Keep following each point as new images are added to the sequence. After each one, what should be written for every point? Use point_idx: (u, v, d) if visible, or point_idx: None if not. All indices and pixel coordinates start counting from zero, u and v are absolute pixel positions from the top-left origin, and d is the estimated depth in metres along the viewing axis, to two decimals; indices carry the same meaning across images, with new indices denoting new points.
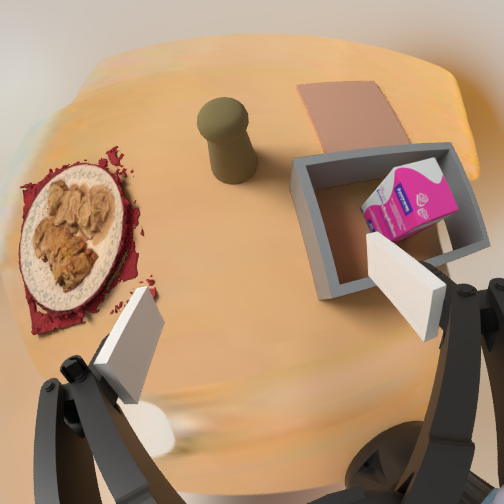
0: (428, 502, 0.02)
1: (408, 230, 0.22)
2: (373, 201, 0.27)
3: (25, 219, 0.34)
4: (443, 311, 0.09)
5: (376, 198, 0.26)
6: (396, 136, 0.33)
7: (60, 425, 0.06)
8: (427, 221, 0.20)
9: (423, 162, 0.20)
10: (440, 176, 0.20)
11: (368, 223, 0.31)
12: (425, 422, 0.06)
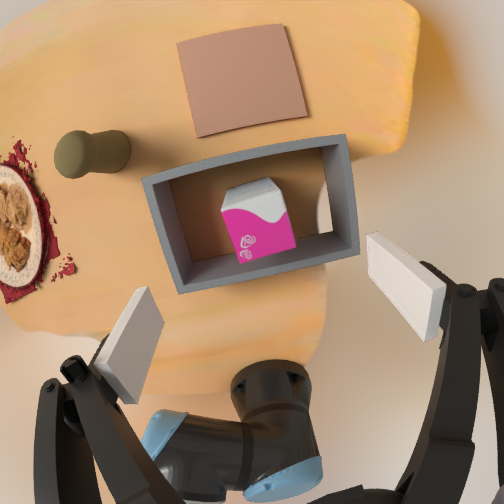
0: (428, 502, 0.02)
1: None
2: None
3: None
4: (443, 311, 0.09)
5: None
6: (289, 102, 0.30)
7: (60, 425, 0.06)
8: (251, 260, 0.26)
9: (260, 199, 0.23)
10: (280, 214, 0.24)
11: None
12: (425, 422, 0.06)
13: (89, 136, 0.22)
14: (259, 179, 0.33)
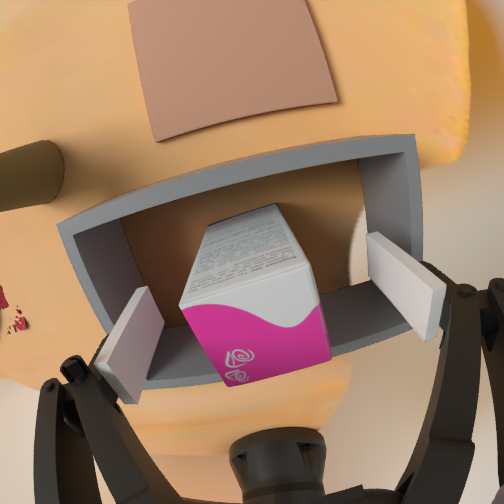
0: (428, 502, 0.02)
1: None
2: None
3: None
4: (443, 311, 0.09)
5: None
6: (307, 79, 0.17)
7: (60, 425, 0.06)
8: None
9: (264, 285, 0.10)
10: (306, 311, 0.11)
11: None
12: (425, 422, 0.06)
13: None
14: (260, 208, 0.20)
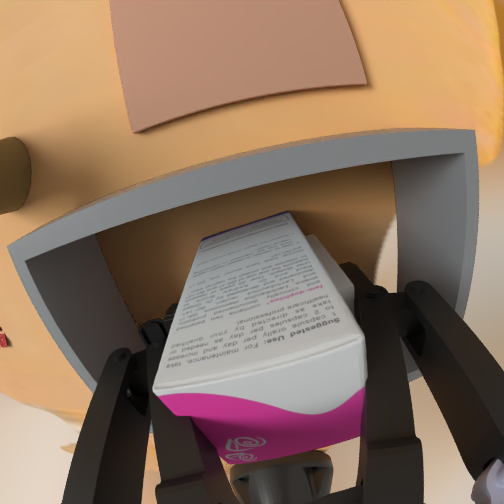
0: None
1: None
2: None
3: None
4: (355, 311, 0.11)
5: None
6: (329, 54, 0.12)
7: (121, 401, 0.07)
8: None
9: (288, 372, 0.06)
10: (347, 396, 0.06)
11: None
12: (361, 426, 0.06)
13: None
14: (269, 218, 0.15)
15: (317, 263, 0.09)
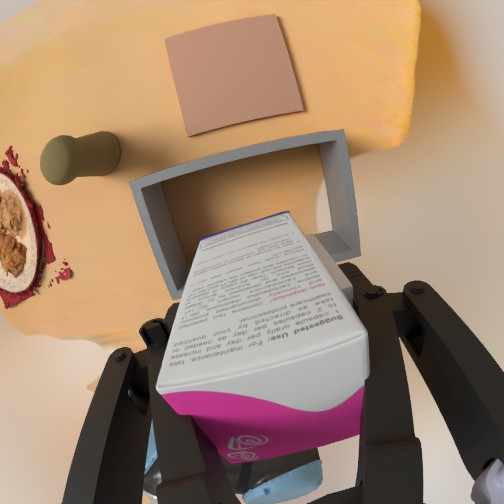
0: None
1: None
2: None
3: None
4: None
5: None
6: (283, 96, 0.28)
7: (122, 401, 0.08)
8: None
9: (292, 368, 0.06)
10: (349, 392, 0.06)
11: None
12: (361, 427, 0.06)
13: (74, 141, 0.20)
14: (268, 218, 0.15)
15: (318, 262, 0.09)
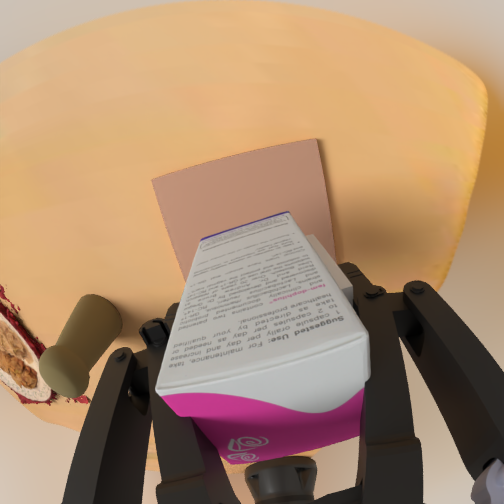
0: None
1: None
2: None
3: None
4: None
5: None
6: None
7: (122, 401, 0.08)
8: None
9: (293, 370, 0.06)
10: (350, 394, 0.06)
11: None
12: (361, 426, 0.06)
13: (72, 363, 0.17)
14: (269, 218, 0.15)
15: (319, 262, 0.09)
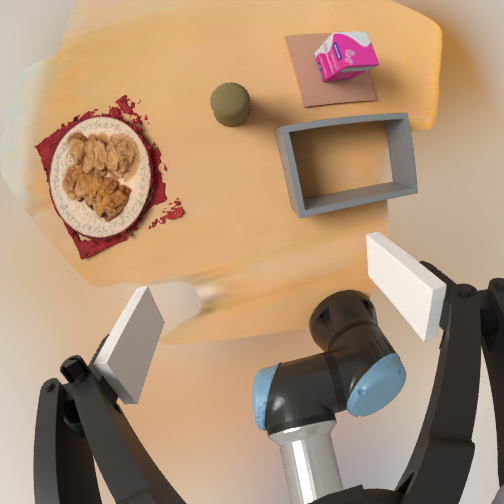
0: (428, 502, 0.02)
1: (340, 69, 0.30)
2: (321, 50, 0.32)
3: (49, 172, 0.40)
4: (443, 311, 0.09)
5: (323, 49, 0.31)
6: (364, 90, 0.39)
7: (60, 425, 0.06)
8: (352, 66, 0.28)
9: (356, 33, 0.25)
10: (368, 43, 0.26)
11: (318, 64, 0.36)
12: (425, 422, 0.06)
13: (245, 89, 0.31)
14: None
15: None
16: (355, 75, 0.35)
